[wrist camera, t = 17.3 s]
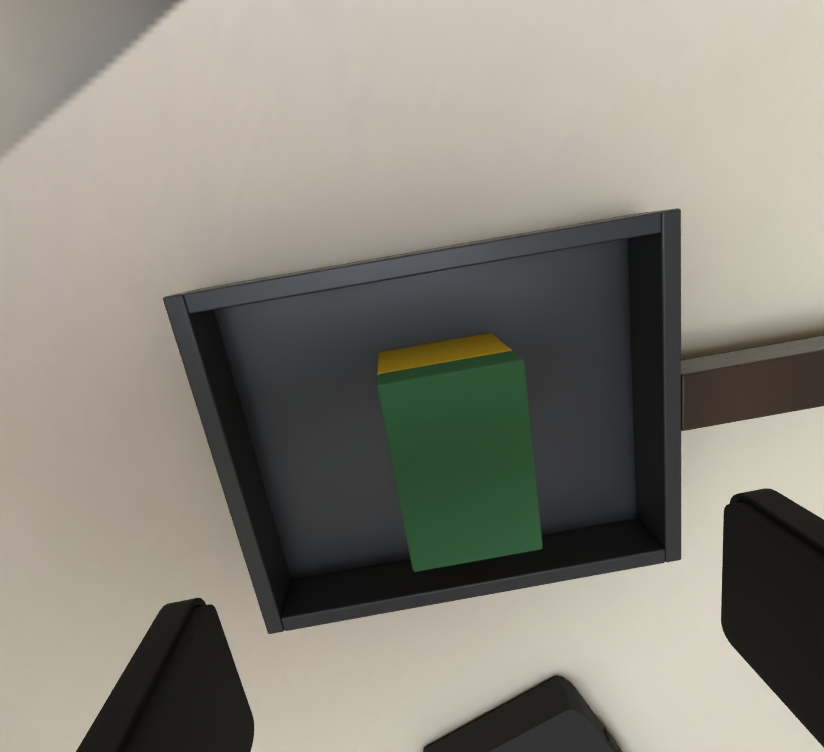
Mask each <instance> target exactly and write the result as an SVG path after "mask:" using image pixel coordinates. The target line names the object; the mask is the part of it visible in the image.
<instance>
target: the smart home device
mask: <svg viewBox="0 0 824 752" xmlns="http://www.w3.org/2000/svg"><path fill="white" fill-rule="evenodd" d="M423 752H622V751H621V749H620V748H619V746H618V745H617V744H616V742H615V741H614V740H613V738H612V737H611V736H610V734H609V733H608V731H607V730H606V729H605V728H604V727H603V725H602V724H601V723H600V721H599V720H598V718H597V717H596V716H595V714H594V713H593V712H592V710H591V709H590V708H589V706H588V705H587V704H586V702H585V701H584V699H583V698H582V697H581V695H580V694H579V693H578V691H577V690H576V689H575V687H574V686H573V685H572V684H571V683H570V682H568V681H567V680H565V679H563V678H561V677H555V678H553V679H551V680H549V681H547V682H545V683H543V684H542V685H540V686H538V687H536V688H534V689H533V690H531V691H529V692H527V693H525V694H523V695H522V696H520V697H518V698H516V699H514V700H512V701H511V702H509V703H507V704H505V705H503V706H501V707H500V708H498V709H496V710H494V711H492V712H490V713H489V714H487V715H485V716H483V717H481V718H479V719H478V720H476V721H474V722H472V723H470V724H469V725H467V726H465V727H463V728H461V729H459V730H458V731H456V732H454V733H452V734H450V735H448V736H447V737H445V738H443V739H441V740H439V741H437V742H436V743H434V744H432V745H430V746H428V747H426V748H425V749H424V751H423Z"/></svg>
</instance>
